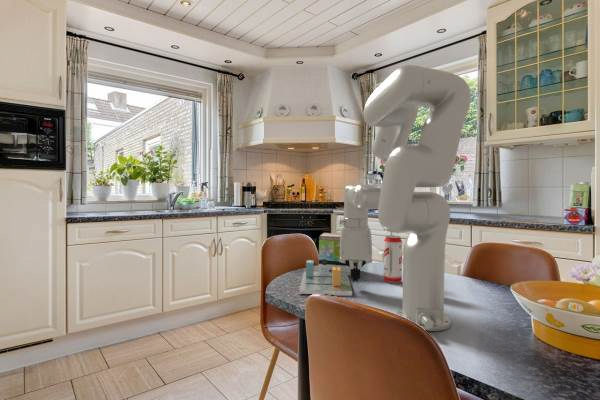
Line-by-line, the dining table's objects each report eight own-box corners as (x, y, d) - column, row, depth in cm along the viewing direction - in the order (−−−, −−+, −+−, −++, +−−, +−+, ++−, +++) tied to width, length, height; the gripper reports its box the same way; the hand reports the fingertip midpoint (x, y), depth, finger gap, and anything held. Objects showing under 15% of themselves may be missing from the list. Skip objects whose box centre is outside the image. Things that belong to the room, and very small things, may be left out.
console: (352, 296, 104) (352, 290, 104) (299, 294, 105) (299, 289, 105) (346, 276, 128) (346, 272, 128) (303, 275, 129) (303, 271, 129)
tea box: (318, 273, 132) (318, 235, 132) (322, 268, 142) (322, 232, 142) (357, 276, 129) (358, 236, 128) (359, 270, 138) (360, 233, 138)
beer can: (399, 279, 124) (400, 235, 124) (403, 284, 118) (404, 237, 117) (382, 279, 125) (382, 235, 124) (384, 283, 118) (385, 237, 118)
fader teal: (313, 277, 120) (313, 262, 120) (306, 277, 120) (306, 262, 120) (313, 274, 124) (313, 260, 124) (306, 274, 124) (306, 260, 124)
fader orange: (340, 285, 109) (340, 269, 109) (332, 285, 109) (332, 269, 109) (339, 282, 114) (340, 266, 113) (332, 282, 114) (332, 266, 114)
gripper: (332, 224, 107) (332, 283, 108) (381, 225, 106) (380, 284, 107) (332, 222, 115) (331, 277, 115) (377, 223, 114) (376, 278, 114)
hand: (355, 280), depth 111 cm, fingers closed
